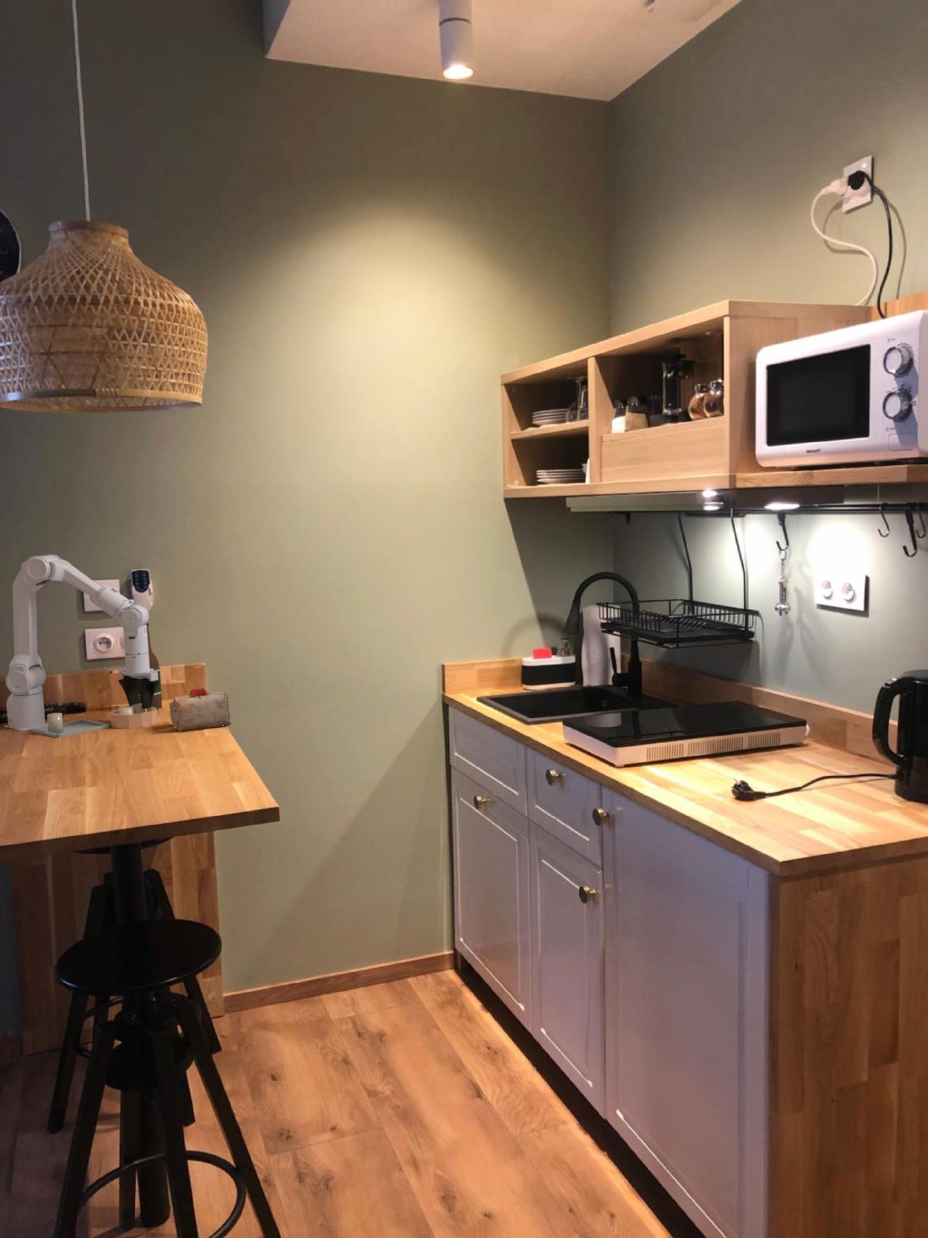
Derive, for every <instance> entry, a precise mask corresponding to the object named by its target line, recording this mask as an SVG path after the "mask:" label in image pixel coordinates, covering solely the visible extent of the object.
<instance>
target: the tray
mask: <svg viewBox="0 0 928 1238" xmlns="http://www.w3.org/2000/svg"><path fill="white" fill-rule="evenodd" d="M109 728H112V727H111V723H105V722H101V721H96V720H91V719H85V718H81V719H76V720H71V721H66V722H63V732H62V733H58V734H56V733H52V732H48V726H44V727H38V728H33V729H30V732H31V733H34V734H39V735H41V736H42V735H43V736H48V737H52V738H55V739H56V738H57V739H60V738H64V737H70V736H74V735H79V734H84V733H89V732H94V731H95V732H96V731H100V730H105V729H109Z"/></svg>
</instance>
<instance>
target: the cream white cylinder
mask: <svg viewBox="0 0 928 1238" xmlns="http://www.w3.org/2000/svg"><path fill="white" fill-rule="evenodd" d="M118 709H119V714H134V713H133V706H129V705H122V706H118Z"/></svg>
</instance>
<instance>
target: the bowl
mask: <svg viewBox="0 0 928 1238" xmlns="http://www.w3.org/2000/svg"><path fill="white" fill-rule="evenodd" d="M109 712H110V714H109V716H110V724H111V727H110V728H113V729H120V730H123V729H124V730H126V729H127V730H129V729H138V728H145V727H149V726H153V725H156V724H157V723H158V711H157V709H156V708H155V707H151V708H147V712H144V713H138V714H119V708H118V709H115V710H112V711H109Z"/></svg>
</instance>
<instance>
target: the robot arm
mask: <svg viewBox="0 0 928 1238" xmlns="http://www.w3.org/2000/svg"><path fill="white" fill-rule="evenodd" d="M20 566H21V567H20V569H19V571H18V574H17V576H16V577H15V579H14V581H13V583H12V610H13V611H12V612H13V614H12V615H13V618H12V619H13V620H12V623H13V650H14V652H13V653H14V654H13V658H11V660H10V663H9V665H8V668H9V670H8V673H7V675H6V677H5V684H6V687H7V689H8V690H9V692H11V694H10V695H8V698H7V700H6V716H7V725H9V726H7V725H4V727H5V728H8V727H9V729H12V728H13V730H17V731H28V730H31V729H33V728H38V727H44V726H48V722H46V718H45V717H46V716H45V706H44V695H43V694H44V693H43V692H44V691H43V687H42V686H43V685H44V684H45V682H46V680H47V679H46V678H47V676H46V672H45V670H44V668H43V664H42V662H43V661H42V659H41V657H40V655H39V654H38V628H37V627H38V625H37V624H38V621H37V618H38V617H37V616H38V615H37V592H38V591H39V590H40V589H41V588H42V587H44V586H45V585H46V584H48V583H50V582H65V583H68V584H69V585H71V586H73V587H74V588H76V589H77V590H80V591H81V592H82V593H85V594H86V595H88V596H89V597H91V598H93V601H94V604H95V606H96V607H97V608H99V609H100V610H101V611H103V612H105V613H106V614H108V615H109V616H110V617H112V618H114V619H116V620H118V624H119V625H120V626H121V627H122V631H123V646H124V647H123V649H124V662H125V663H124V664H125V668H119V669H118V676H119V677H120V678H121V679H118V683H119V685H120V686H121V688H122V689H123V692H124V694H125V697H126V700H127V703H128V706H132V705H133V704H138V703H139V693H140V697H141V704H142V707H143V709H147V708H151V707H152V702H153V697H154V693H155V690H156V687H157V685H158V683H159V680H158V672H154V669H151V668H150V665H149V650H148V636H147V625H145V624H146V623H147V622H148V623H149V620H150V614H149V610H148V609H147V608H146V607H145V606H144V605H143V604H141V603H135V600H133V599H132V598H131V599H129V598H127V597H126V596H124V595H123V594H121V593H120V592H119V589H118V588H116V587H110V586H105V587H102V586H101V585H99V584H98V583H97V582H95V581H94V580H93V579H92V578H89V577H88V576H87V575H85V573H83V572H82V571H80V570H79V569H77V568H76V567H75V566H73V565H72V564H71V563H70V562H69V561H68V560H64V559H62V558H61V557H60V556H58V555H56V554H52V553H51V554H50V553H49V554H46V555H34V556H30V557H29V558H28V559H27V560H25V561H24V562H22V563H21V565H20ZM141 680H142V681H141Z"/></svg>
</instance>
